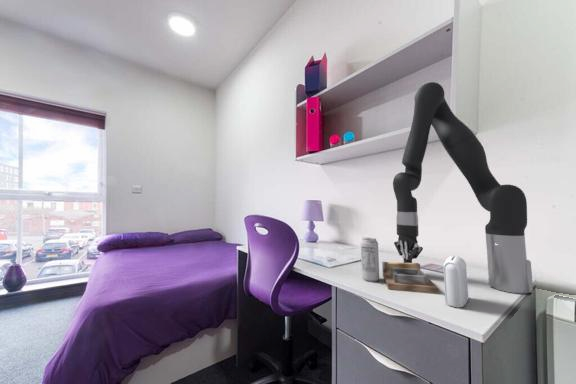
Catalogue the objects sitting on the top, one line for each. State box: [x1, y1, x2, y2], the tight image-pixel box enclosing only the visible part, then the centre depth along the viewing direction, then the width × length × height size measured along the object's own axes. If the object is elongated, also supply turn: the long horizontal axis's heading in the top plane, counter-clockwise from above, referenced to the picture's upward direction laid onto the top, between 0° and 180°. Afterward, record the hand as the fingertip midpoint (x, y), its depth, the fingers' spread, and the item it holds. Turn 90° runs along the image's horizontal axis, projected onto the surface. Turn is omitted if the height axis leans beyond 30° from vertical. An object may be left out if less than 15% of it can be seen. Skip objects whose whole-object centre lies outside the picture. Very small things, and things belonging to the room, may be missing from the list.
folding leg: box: [381, 261, 421, 274], centre depth 85 cm, size 13×2×5 cm, turn 82°
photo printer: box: [443, 255, 469, 309], centre depth 63 cm, size 10×4×12 cm, turn 134°
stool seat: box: [382, 267, 440, 295], centre depth 76 cm, size 14×13×4 cm
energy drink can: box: [360, 237, 380, 283], centre depth 82 cm, size 6×6×15 cm
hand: (407, 268), depth 87 cm, fingers closed
